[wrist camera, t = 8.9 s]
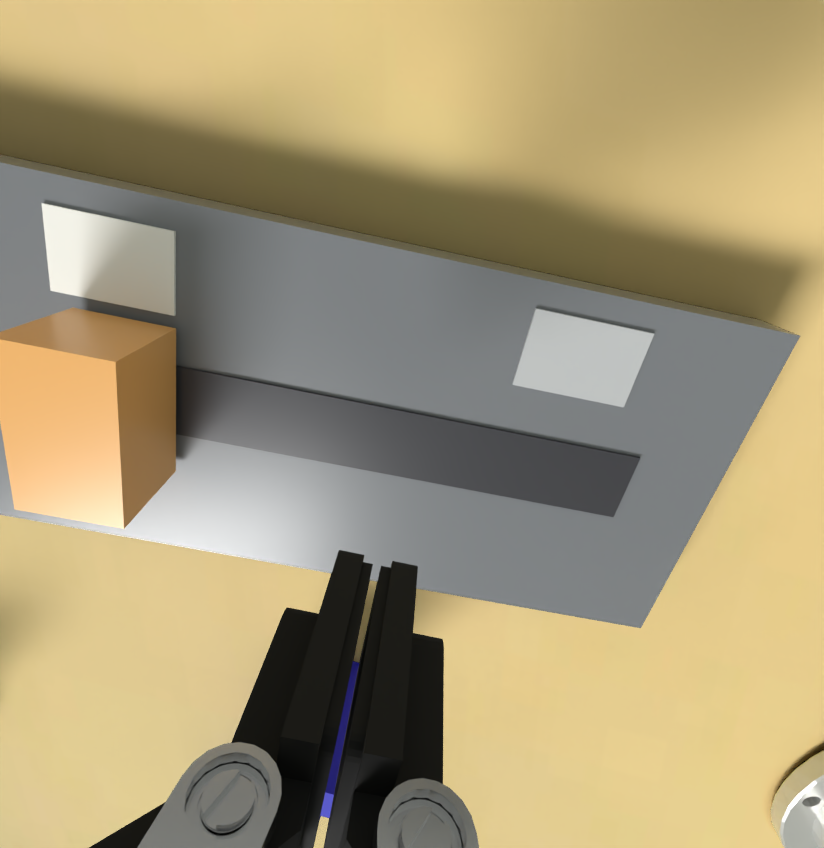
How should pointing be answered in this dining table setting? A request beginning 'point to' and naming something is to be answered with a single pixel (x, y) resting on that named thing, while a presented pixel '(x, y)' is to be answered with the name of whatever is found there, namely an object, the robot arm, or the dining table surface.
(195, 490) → the switch panel
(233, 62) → the dining table surface
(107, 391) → the switch knob
